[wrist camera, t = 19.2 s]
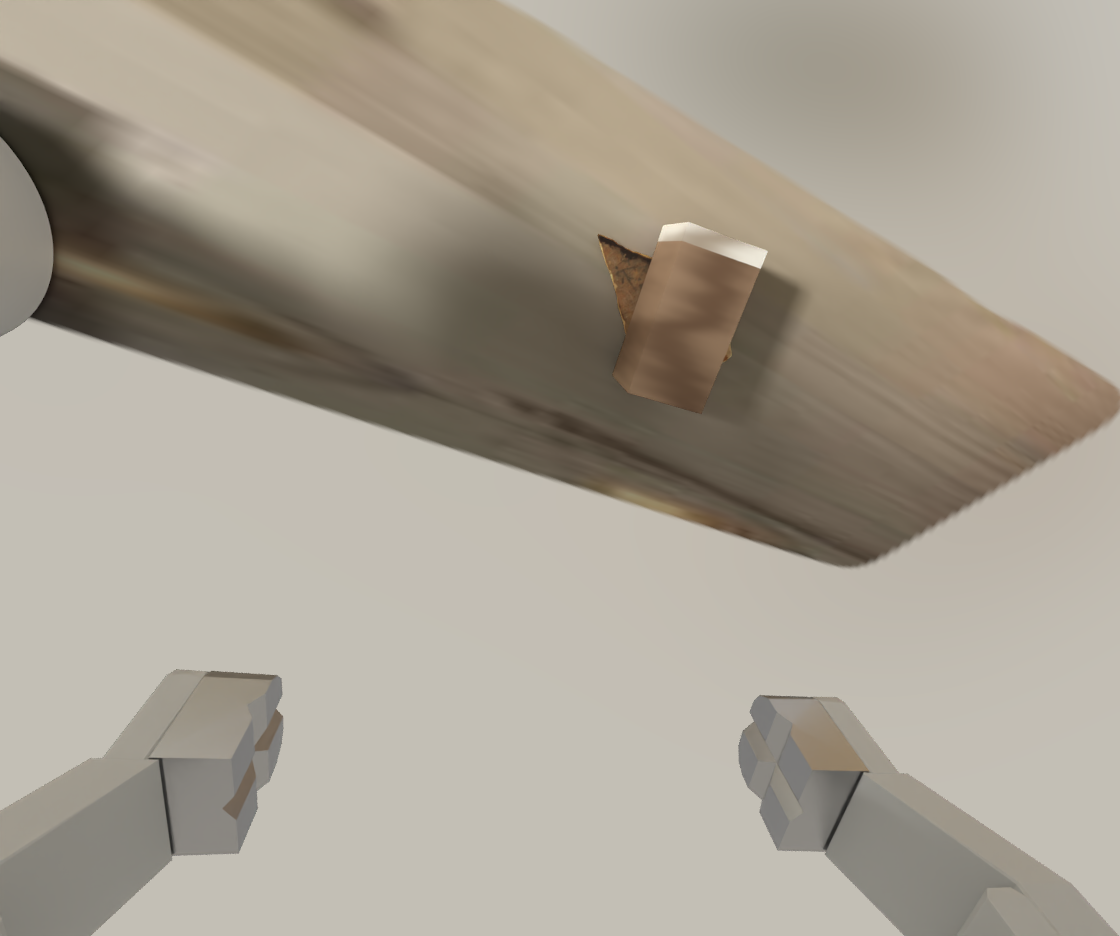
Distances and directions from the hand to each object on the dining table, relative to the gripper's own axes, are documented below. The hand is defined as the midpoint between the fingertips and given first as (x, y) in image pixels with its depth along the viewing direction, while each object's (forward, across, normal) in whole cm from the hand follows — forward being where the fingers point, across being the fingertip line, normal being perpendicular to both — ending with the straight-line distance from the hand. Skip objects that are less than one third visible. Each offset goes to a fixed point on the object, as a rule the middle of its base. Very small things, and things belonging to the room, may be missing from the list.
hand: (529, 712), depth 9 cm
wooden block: (+28, -10, 0) cm, 29 cm away
